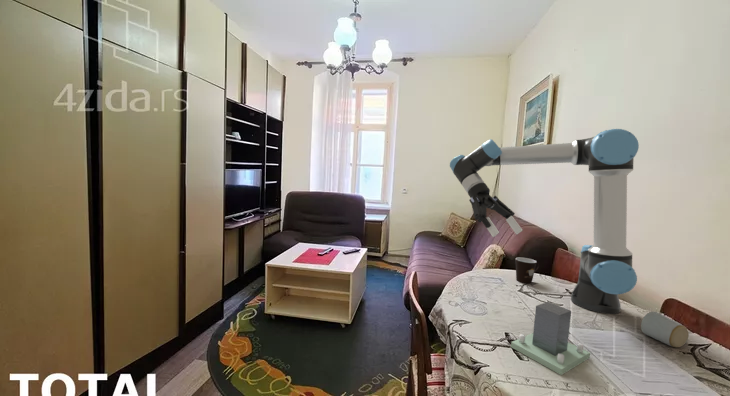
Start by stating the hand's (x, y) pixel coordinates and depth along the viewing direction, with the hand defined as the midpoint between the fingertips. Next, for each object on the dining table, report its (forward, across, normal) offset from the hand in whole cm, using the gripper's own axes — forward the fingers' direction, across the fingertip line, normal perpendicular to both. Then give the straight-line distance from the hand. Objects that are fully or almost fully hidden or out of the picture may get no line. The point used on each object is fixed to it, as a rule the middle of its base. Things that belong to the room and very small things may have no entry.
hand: (508, 233), depth 105 cm
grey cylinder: (+45, -28, +6) cm, 54 cm away
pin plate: (+36, +12, -4) cm, 38 cm away
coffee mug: (+10, -39, -29) cm, 50 cm away
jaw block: (+34, +12, -2) cm, 37 cm away
